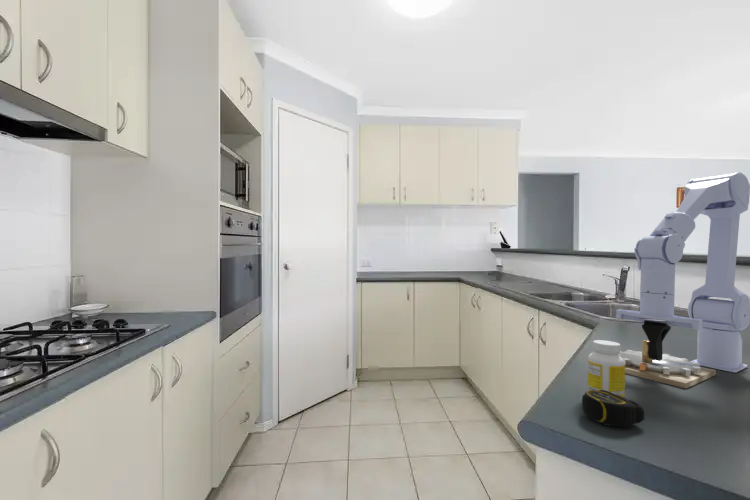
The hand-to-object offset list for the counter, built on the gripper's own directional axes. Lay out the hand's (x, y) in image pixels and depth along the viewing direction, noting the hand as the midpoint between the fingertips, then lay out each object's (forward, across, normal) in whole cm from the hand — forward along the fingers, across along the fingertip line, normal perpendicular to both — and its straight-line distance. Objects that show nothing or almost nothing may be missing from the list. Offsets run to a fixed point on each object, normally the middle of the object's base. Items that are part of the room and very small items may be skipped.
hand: (655, 358), depth 78 cm
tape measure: (+5, +5, -31) cm, 31 cm away
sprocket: (+2, -2, +5) cm, 6 cm away
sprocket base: (+4, -2, +6) cm, 7 cm away
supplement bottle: (+4, +1, -23) cm, 23 cm away
